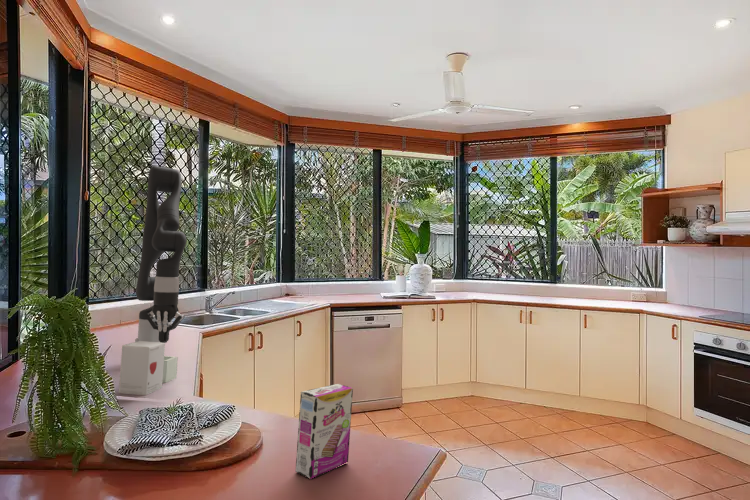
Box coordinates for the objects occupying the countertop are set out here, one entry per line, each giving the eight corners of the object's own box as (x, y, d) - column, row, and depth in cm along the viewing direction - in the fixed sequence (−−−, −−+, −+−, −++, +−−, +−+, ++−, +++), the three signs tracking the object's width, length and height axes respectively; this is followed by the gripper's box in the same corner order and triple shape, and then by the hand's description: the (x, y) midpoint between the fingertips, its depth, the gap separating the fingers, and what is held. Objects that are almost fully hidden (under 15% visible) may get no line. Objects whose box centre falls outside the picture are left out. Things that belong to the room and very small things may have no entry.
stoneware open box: (145, 384, 156) (146, 359, 156) (156, 379, 163) (157, 355, 163) (165, 385, 156) (167, 360, 156) (176, 380, 163) (177, 356, 163)
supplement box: (146, 398, 141) (149, 347, 142) (117, 395, 142) (120, 345, 143) (163, 390, 150) (166, 342, 151) (136, 388, 151) (139, 340, 152)
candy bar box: (311, 481, 94) (316, 396, 94) (294, 473, 97) (298, 391, 97) (350, 464, 103) (354, 387, 103) (333, 457, 106) (337, 382, 106)
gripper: (190, 290, 163) (187, 342, 163) (153, 288, 164) (150, 339, 164) (180, 292, 156) (177, 345, 156) (141, 290, 157) (137, 343, 157)
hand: (163, 342), depth 160 cm, fingers closed
